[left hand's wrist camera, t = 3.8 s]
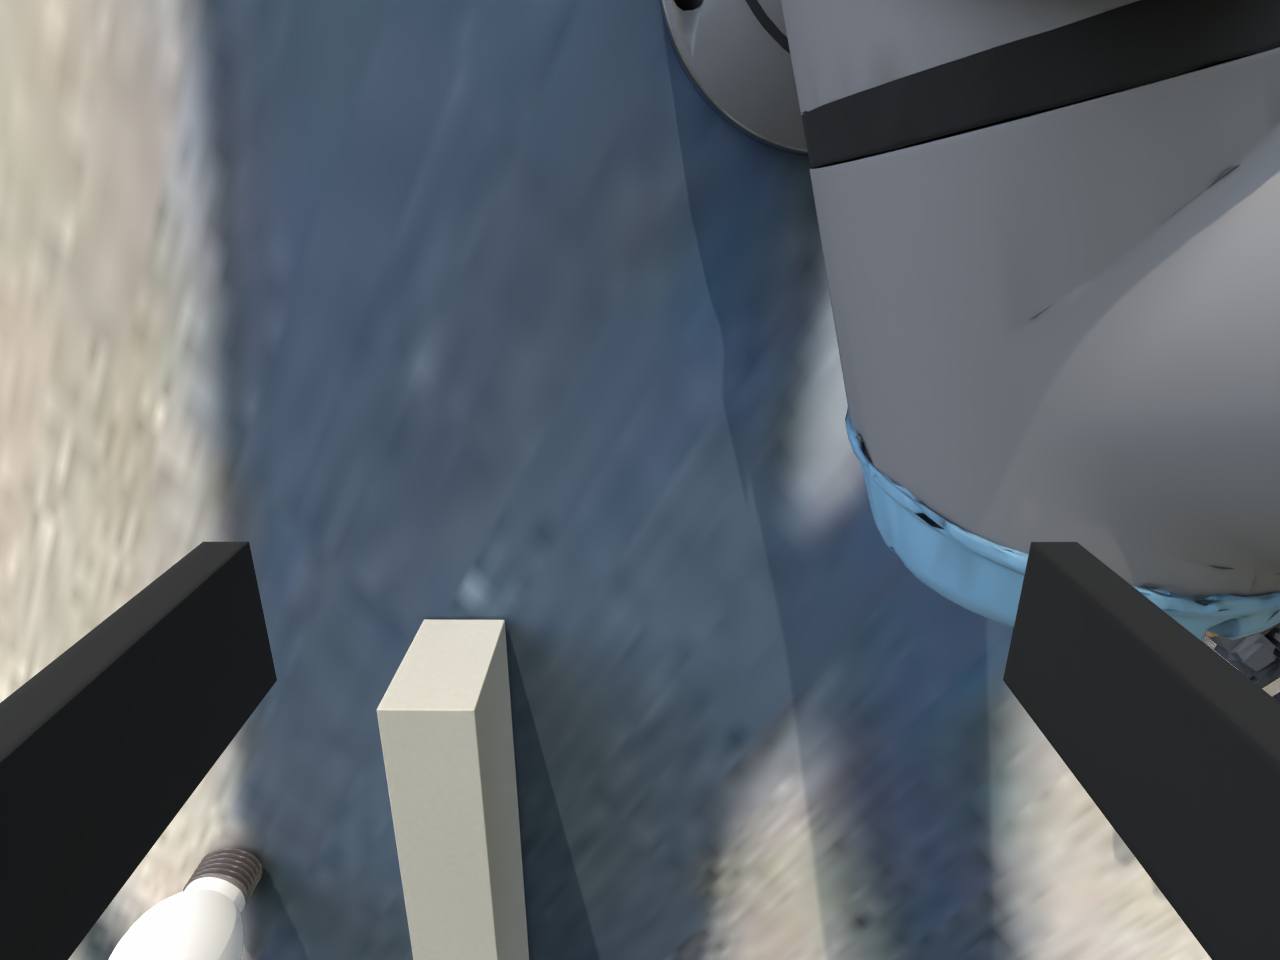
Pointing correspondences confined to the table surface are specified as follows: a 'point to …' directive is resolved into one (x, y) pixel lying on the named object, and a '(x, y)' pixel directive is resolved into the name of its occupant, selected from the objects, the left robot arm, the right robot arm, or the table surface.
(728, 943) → the table surface
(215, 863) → the light bulb
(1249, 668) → the toy
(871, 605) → the table surface
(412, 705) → the bar
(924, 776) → the table surface
